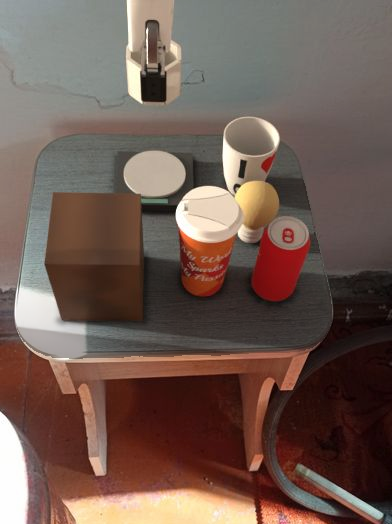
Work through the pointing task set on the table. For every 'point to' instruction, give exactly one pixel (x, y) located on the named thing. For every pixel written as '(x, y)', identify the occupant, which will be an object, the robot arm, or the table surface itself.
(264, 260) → the beverage can
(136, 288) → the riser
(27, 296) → the table surface
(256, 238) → the light bulb
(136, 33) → the robot arm
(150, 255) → the table surface
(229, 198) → the coffee cup
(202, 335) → the table surface
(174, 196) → the scale
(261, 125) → the cup
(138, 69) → the bowl
